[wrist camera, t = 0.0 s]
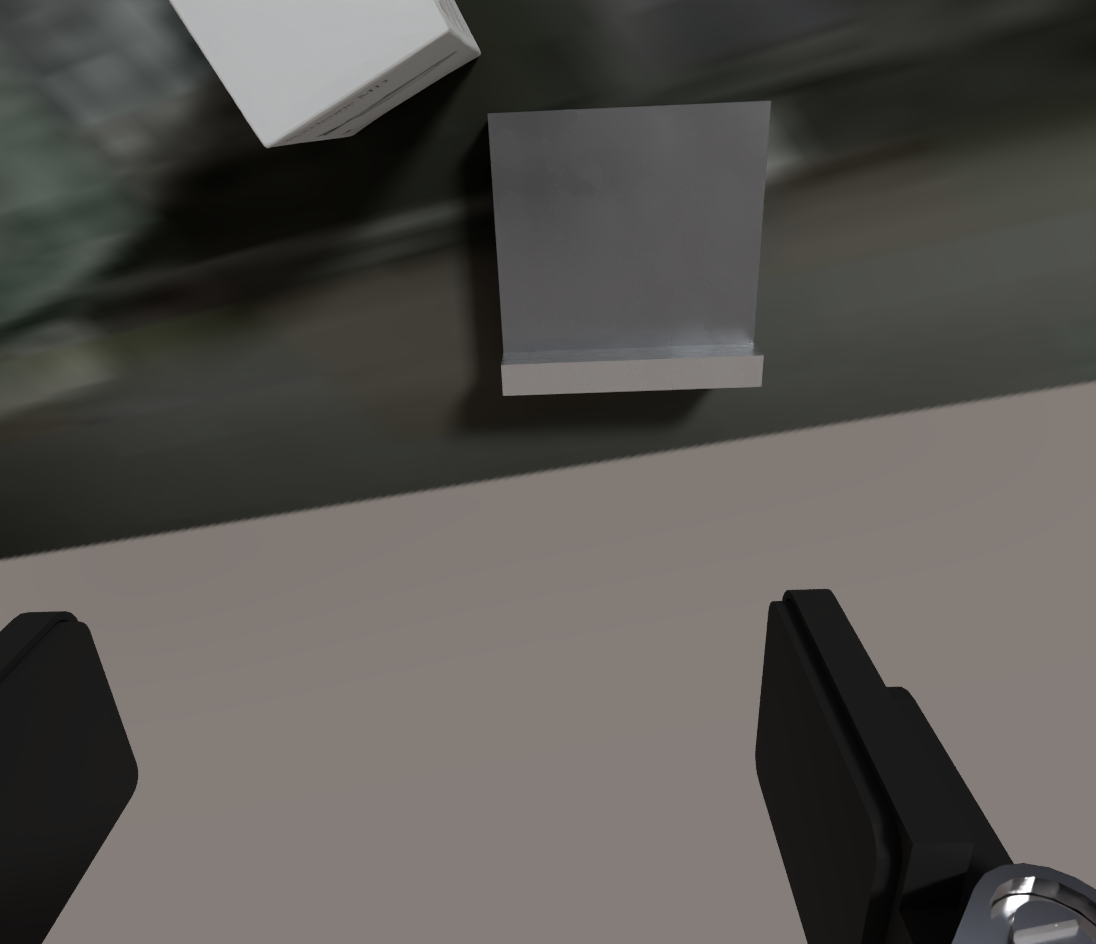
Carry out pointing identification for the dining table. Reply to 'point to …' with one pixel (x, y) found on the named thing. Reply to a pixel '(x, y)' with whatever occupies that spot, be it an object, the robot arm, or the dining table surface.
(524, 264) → the stand plate
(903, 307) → the dining table surface
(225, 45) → the supplement box
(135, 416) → the dining table surface
